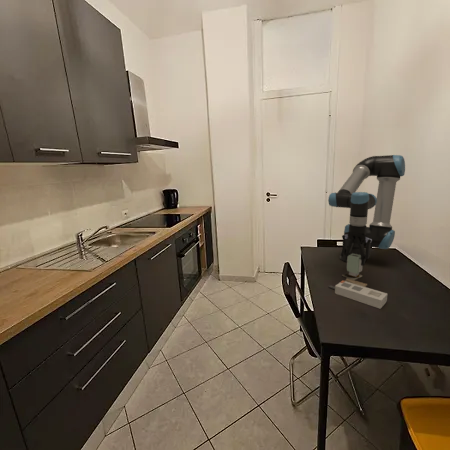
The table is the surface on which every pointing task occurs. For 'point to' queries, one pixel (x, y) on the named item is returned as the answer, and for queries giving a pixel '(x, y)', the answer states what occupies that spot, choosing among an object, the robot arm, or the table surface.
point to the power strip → (361, 294)
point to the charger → (353, 264)
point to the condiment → (351, 275)
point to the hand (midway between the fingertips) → (354, 269)
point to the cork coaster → (356, 282)
